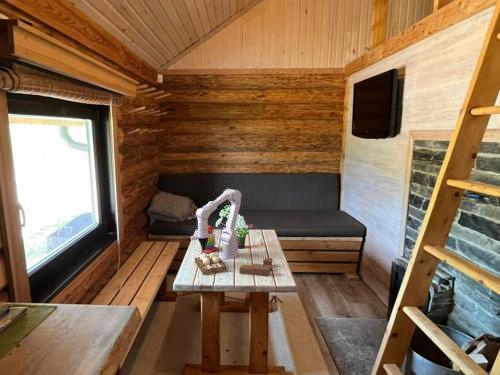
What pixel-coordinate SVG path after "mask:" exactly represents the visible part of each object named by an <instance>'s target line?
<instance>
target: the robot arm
mask: <svg viewBox="0 0 500 375" xmlns="http://www.w3.org/2000/svg"><path fill="white" fill-rule="evenodd" d="M242 195H243V194H242V193H241V191H240V190H238V189H231V188H226V189H225V190H223V193H221V195H219V196H217V197H216V199H215V200H213V201H212V200H211V201H208V203H207V204H205V205H203V206H202V207H200V208H198V209H197V210H196V212H195V216H196V218H197V219H196V220H197V234H196V235H191V236H190V240H191V241H194V240H195V241H196V240H198V242H199V245H200V247H201V252H202V251H204V250H205V247H206V244H207V242H208V238H212V237H213V238H216V234H215V233H213V234H208V225H209V224H208V223H209V222H208V219H209V218H210V215H211V214H212V213H213V212H214V211H216V210H217V209H218V206H219V205H221V204H222V203H224V202H225V201H226V200H228V201H229V202H230V204H231V205H230V206H231V207H230V209H229V210H230V211H229V215H228V219H227V222H226V227H225V228H224V229H222V232H221V234H220V235H219V238H220V240H221V242H222V254H220V256H221V257H222V258H223V259H224V260H228V259H234V258H239V246H238V242H237V232H236V230H235V229H236V224H237V220H238V216H239V213H240V212H239V211H240V208H241V200H242Z"/></svg>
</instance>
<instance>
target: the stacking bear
mask: <svg viewBox="0 0 500 375" xmlns="http://www.w3.org/2000/svg"><path fill="white" fill-rule="evenodd" d="M214 231H215V230H214V228H213V226H211V225H210V224H208V234H214ZM215 238H216V237H215ZM215 238H213V237H212V238H208V242H207V244H206V247H205V250H204V251H202V250H201V252H202V253H203V254H206V255H210V253H215V252H217V251H219V248H218V247H217V246H215V245H216V239H215Z"/></svg>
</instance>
